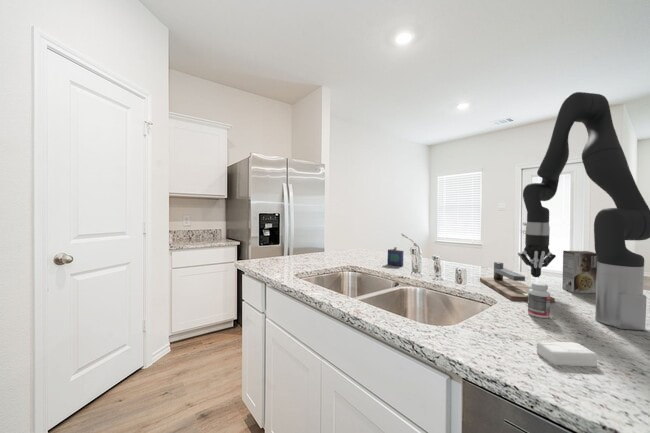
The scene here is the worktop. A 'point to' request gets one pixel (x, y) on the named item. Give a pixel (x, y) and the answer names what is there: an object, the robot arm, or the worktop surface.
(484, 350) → the worktop surface
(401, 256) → the flask
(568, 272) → the coffee box
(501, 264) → the swing arm
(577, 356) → the soap
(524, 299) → the label board
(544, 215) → the robot arm
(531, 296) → the pill bottle
